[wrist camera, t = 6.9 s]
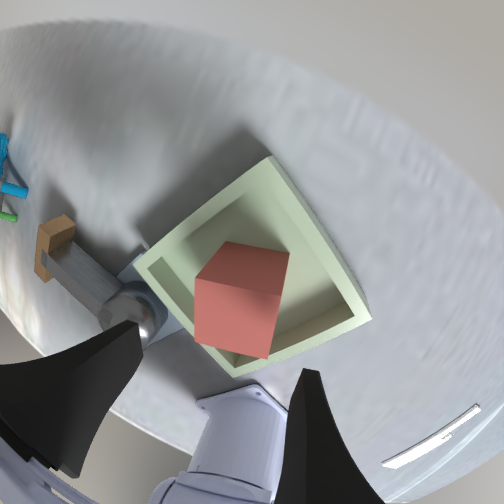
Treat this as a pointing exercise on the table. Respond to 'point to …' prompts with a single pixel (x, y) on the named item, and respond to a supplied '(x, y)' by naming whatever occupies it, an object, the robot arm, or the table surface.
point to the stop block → (239, 298)
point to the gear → (3, 187)
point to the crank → (96, 282)
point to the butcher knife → (429, 441)
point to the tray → (270, 237)
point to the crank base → (133, 275)
